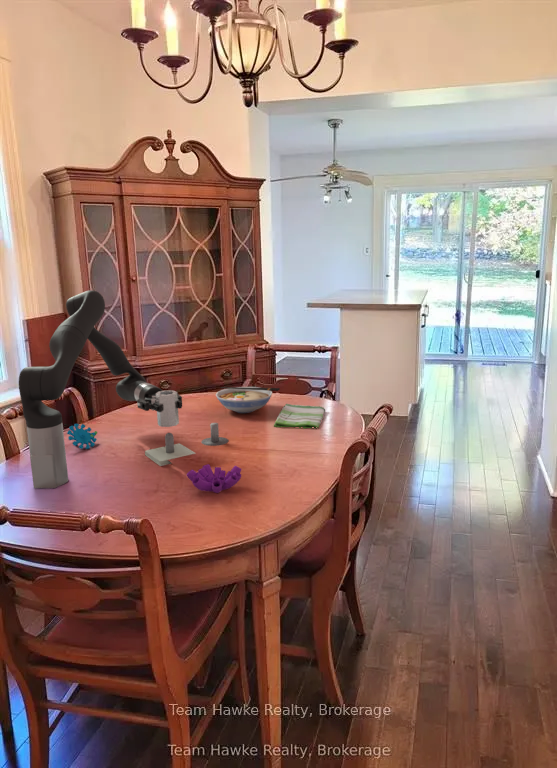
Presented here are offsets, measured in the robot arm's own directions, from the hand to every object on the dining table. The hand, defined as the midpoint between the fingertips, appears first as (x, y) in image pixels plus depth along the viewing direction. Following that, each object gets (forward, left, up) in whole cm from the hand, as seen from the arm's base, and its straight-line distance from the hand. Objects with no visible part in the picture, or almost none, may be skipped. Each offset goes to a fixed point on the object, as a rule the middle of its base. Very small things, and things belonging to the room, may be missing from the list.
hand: (170, 407), depth 178 cm
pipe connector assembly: (-25, -16, -17) cm, 34 cm away
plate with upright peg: (+2, +1, -17) cm, 17 cm away
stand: (+12, -12, -17) cm, 23 cm away
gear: (+13, +32, -17) cm, 39 cm away
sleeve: (+2, +1, -6) cm, 6 cm away
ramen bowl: (+54, -19, -17) cm, 59 cm away
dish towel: (+41, -41, -17) cm, 60 cm away
